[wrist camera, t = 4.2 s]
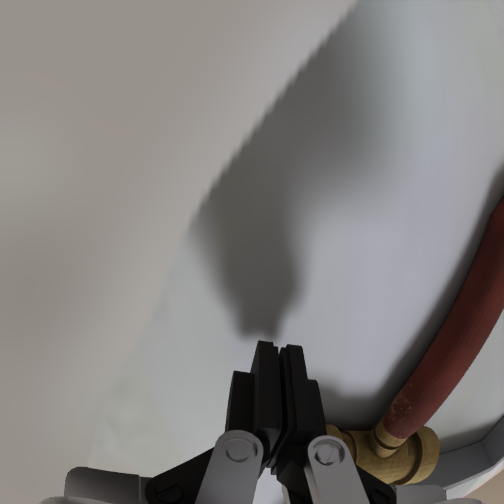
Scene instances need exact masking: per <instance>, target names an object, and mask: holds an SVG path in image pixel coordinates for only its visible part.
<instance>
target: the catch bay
mask: <svg viewBox="0 0 504 504" xmlns="http://www.w3.org/2000/svg"><path fill="white" fill-rule="evenodd" d="M502 460H504V417H503V418H502V419H501V420H500V421H499V423H498V424H497V425H496V426H495V427H494V428H493V429H492V430H491V431H490V432H489V434H488V435H487V436H486V437H485V438H484V439H483V440H482V441H481V442H478V443H475V444H472V445H469V446H466V447H463V448H460V449H457V450H454V451H450V452H447V453H443V454H440V455H439V458H438V461H437V464H436V466H435V468H434V470H433V471H432V473H431V474H430V475H429V476H428V477H427V478H425V479H424V480H422V481H420V482H417V483H412V484H407V485H439V486H440V487H442V488H443V489H444V490H448V489H450V488H453V487H455V486H458V485H460V484H463V483H465V482H467V481H470V480H472V479H474V478H476V477H478V476H481V475H483V474H485V473H487V472H489V471H491V470H492V469H493V468H495V467H496V466H497V465H498V464H499V463H500V462H501V461H502Z"/></svg>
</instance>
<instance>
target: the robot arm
mask: <svg viewBox="0 0 504 504" xmlns="http://www.w3.org/2000/svg"><path fill="white" fill-rule="evenodd" d="M265 467H266V468H271V475H277V480H278V481H279V482H280V483H281V484H282V492H283V497H284V501H285V504H484V503H483V502H482V501H480V500H476V499H470V498H456V499H450V500H447V496H446V493H445V490H444V489H443V488H442V487H440V486H439V485H397V486H395V487H390V486H389V485H388V484H386V483H385V482H383V481H381V480H380V479H378V478H376V477H375V476H373V475H372V474H370V473H369V472H367V471H365V470H364V469H362V468H361V467H359V466H358V465H356V464H355V463H354V462H353V459H352V456H351V454H350V451H349V449H348V447H347V446H346V444H345V443H344V442H343V441H342V440H340V439H338V438H336V437H333V436H328V435H327V429H326V424H325V418H324V413H323V407H322V402H321V397H320V392H319V386H318V383H317V381H316V380H310V379H308V378H307V372H306V366H305V360H304V354H303V348H302V346H298V345H290V344H288V345H287V346H286V348H284V347H282V348H281V350H280V353H278V347H276V346H273V342H267V341H260V340H259V341H258V344H257V347H256V351H255V355H254V359H253V363H252V367H251V371H250V373H247V372H240V371H234V372H233V377H232V382H231V387H230V393H229V400H228V408H227V417H226V425H225V433H223V434H222V435H221V436H220V437H219V438H218V440H217V442H216V444H215V447H213V448H211V449H209V450H208V451H206V452H204V453H202V454H200V455H198V456H196V457H194V458H193V459H191V460H189V461H187V462H185V463H183V464H181V465H179V466H176V467H174V468H172V469H170V470H168V471H166V472H164V473H161V474H159V475H157V476H155V477H153V478H150V477H140V476H139V475H136V474H126V473H118V472H111V471H105V470H99V469H93V468H88V467H76V468H73V469H71V470H70V471H69V472H68V474H67V477H66V480H65V490H64V496H62V497H50V498H47V499H44V500H43V501H41V502H40V503H39V504H252V503H253V499H254V494H255V490H256V485H257V480H258V479H259V477H260V476H261V474H262V472H263V471H264V469H265Z"/></svg>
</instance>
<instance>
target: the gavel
mask: <svg viewBox="0 0 504 504" xmlns="http://www.w3.org/2000/svg"><path fill="white" fill-rule="evenodd" d="M503 309H504V196H503V198H502V199H501V201H500V202H499V204H498V205H497V207H496V209H495V210H494V212H493V213H492V215H491V216H490V219H489V222H488V225H487V228H486V231H485V233H484V236H483V239H482V241H481V244H480V247H479V249H478V252H477V254H476V257H475V259H474V262H473V264H472V266H471V269H470V271H469V273H468V276H467V278H466V280H465V282H464V284H463V286H462V289H461V291H460V293H459V295H458V297H457V299H456V301H455V303H454V305H453V307H452V309H451V311H450V312H449V314H448V316H447V318H446V320H445V322H444V324H443V325H442V327H441V329H440V331H439V332H438V334H437V336H436V337H435V339H434V341H433V342H432V344H431V346H430V347H429V349H428V351H427V352H426V354H425V355H424V357H423V358H422V360H421V361H420V363H419V365H418V366H417V368H416V369H415V370H414V372H413V373H412V375H411V376H410V378H409V379H408V381H407V382H406V383H405V385H404V386H403V387H402V389H401V390H400V392H399V393H398V394H397V396H396V397H395V398H394V399H393V401H392V403H391V405H390V406H389V408H388V410H387V412H386V414H385V416H384V417H383V418H382V420H381V421H380V422H379V423H378V424H377V426H375V427H374V428H373V429H372V430H371V431H349V430H342V431H339V430H338V428H337V427H335V426H334V425H331V424H326V429H327V435H328V436H333V437H336V438H338V439H340V440H342V441H343V442H344V443H345V444H346V446H347V447H348V449H349V451H350V454H351V456H352V459H353V462H354V463H355V464H356V465H358V466H359V467H361V468H362V469H364V470H365V471H367V472H369V473H370V474H372V475H373V476H375V477H376V478H378V479H380V480H381V481H383V482H385V483H386V484H390V485H393V486H397V485H407V484H412V483H417V482H420V481H422V480H424V479H425V478H427V477H428V476H429V475H430V474H431V473H432V471H433V470H434V468H435V466H436V464H437V461H438V458H439V453H440V445H439V440H438V437H437V435H436V434H435V432H434V431H433V430H432V429H431V428H429V427H427V426H423V425H425V424H426V422H427V421H428V420H429V419H430V418H431V417H432V416H433V414H434V413H435V412H436V411H437V410H438V408H439V407H440V406H441V405H442V404H443V402H444V401H445V400H446V399H447V397H448V396H449V395H450V393H451V392H452V391H453V389H454V388H455V387H456V385H457V384H458V383H459V381H460V380H461V379H462V377H463V376H464V374H465V373H466V371H467V370H468V368H469V367H470V365H471V364H472V362H473V361H474V359H475V358H476V356H477V355H478V353H479V352H480V350H481V348H482V347H483V345H484V343H485V342H486V340H487V338H488V337H489V335H490V333H491V331H492V329H493V328H494V326H495V324H496V322H497V320H498V318H499V316H500V315H501V313H502V311H503Z"/></svg>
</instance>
